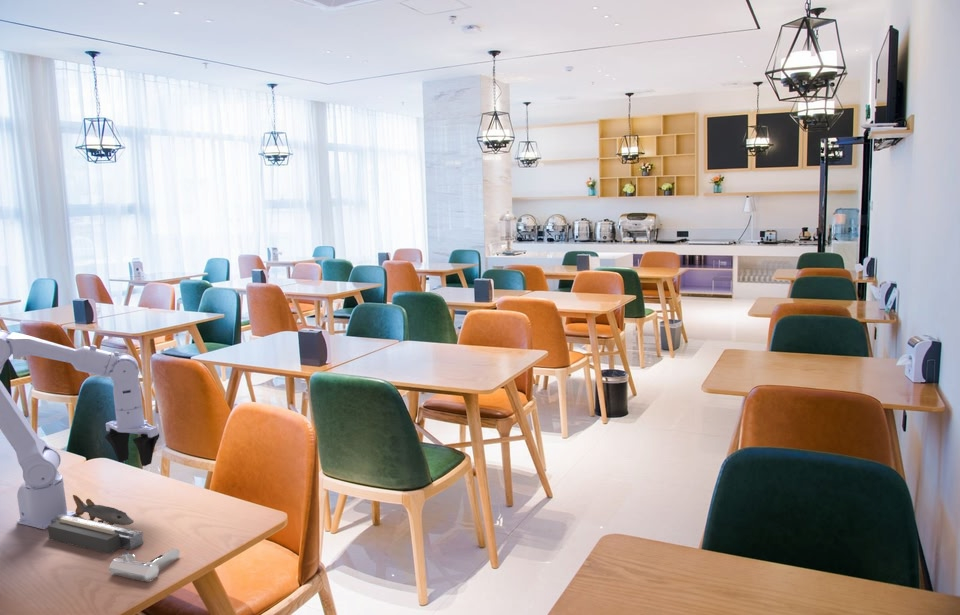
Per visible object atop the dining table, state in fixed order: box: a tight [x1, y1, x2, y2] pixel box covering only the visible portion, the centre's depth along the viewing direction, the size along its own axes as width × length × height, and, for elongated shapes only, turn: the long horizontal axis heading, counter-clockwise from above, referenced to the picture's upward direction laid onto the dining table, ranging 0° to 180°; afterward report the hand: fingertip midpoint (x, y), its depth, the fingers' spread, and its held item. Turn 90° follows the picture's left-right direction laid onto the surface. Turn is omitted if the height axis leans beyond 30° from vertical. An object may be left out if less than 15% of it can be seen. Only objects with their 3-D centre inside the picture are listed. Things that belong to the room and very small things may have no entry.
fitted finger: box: [47, 518, 122, 555], centre depth 146 cm, size 18×3×4 cm, turn 66°
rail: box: [51, 514, 144, 551], centre depth 149 cm, size 24×3×3 cm, turn 66°
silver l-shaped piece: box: [109, 548, 181, 583], centre depth 136 cm, size 10×4×9 cm
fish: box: [72, 494, 134, 526], centre depth 155 cm, size 4×21×5 cm, turn 62°
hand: (135, 462), depth 164 cm, fingers open, 7 cm apart
